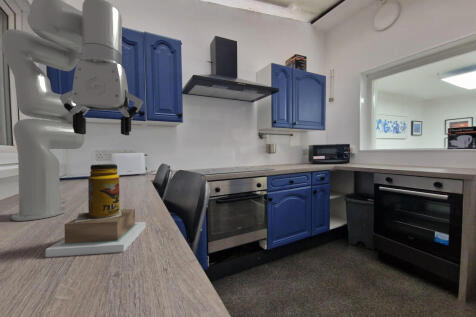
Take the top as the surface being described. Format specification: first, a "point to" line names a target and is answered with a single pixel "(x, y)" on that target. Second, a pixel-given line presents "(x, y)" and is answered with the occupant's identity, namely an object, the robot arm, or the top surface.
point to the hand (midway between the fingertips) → (103, 134)
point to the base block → (100, 228)
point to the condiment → (102, 193)
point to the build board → (96, 244)
